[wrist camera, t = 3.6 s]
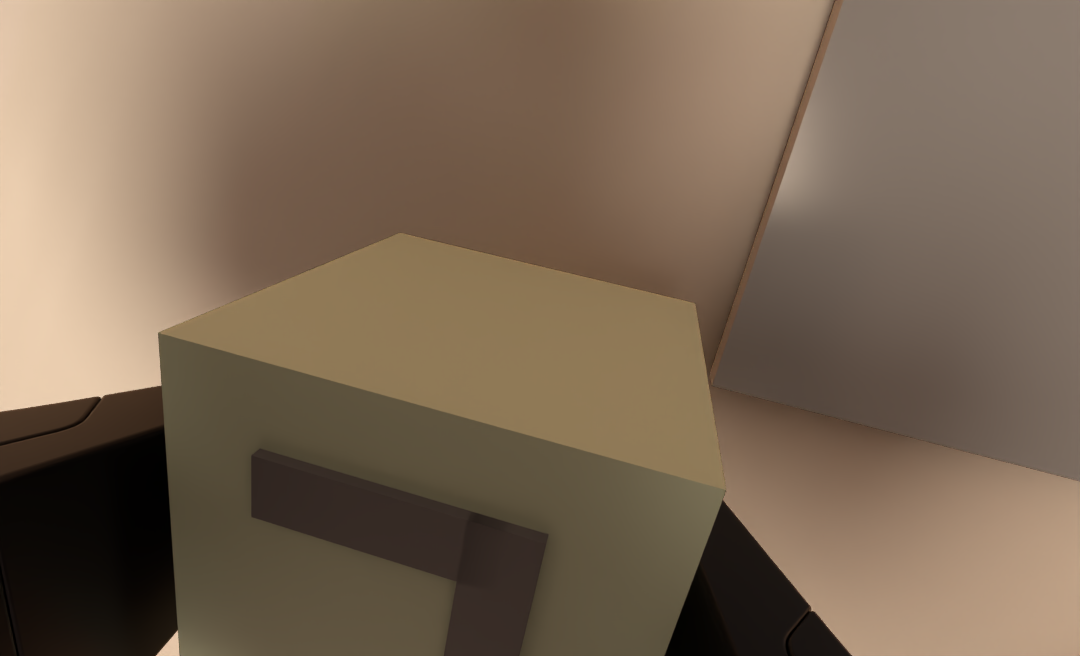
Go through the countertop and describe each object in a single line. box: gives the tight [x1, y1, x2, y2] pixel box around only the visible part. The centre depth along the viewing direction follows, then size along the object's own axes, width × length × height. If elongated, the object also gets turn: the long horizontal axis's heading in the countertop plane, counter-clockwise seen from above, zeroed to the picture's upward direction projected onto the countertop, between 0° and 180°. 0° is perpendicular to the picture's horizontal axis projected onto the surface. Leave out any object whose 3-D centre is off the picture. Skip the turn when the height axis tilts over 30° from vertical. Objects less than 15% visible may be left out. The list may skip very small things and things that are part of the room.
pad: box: [710, 0, 1080, 481], centre depth 9 cm, size 9×9×1 cm
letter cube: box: [158, 233, 726, 656], centre depth 8 cm, size 5×5×5 cm
